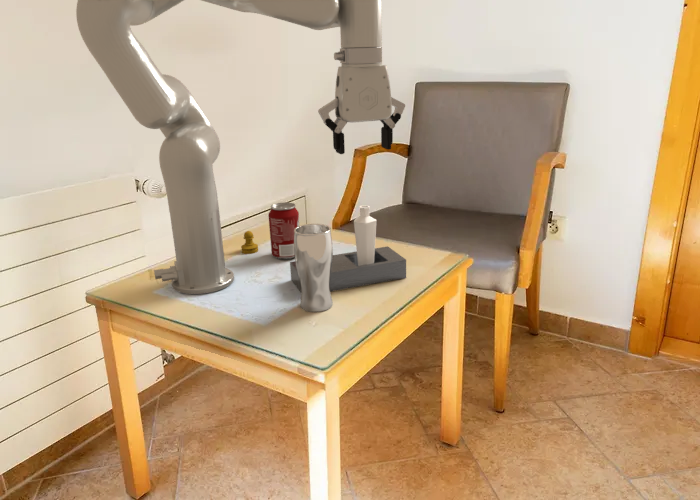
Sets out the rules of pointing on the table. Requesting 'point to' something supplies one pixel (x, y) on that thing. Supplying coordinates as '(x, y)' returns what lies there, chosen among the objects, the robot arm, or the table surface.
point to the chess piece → (249, 244)
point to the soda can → (283, 229)
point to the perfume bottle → (365, 236)
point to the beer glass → (314, 265)
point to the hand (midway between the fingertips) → (363, 150)
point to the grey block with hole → (360, 270)
